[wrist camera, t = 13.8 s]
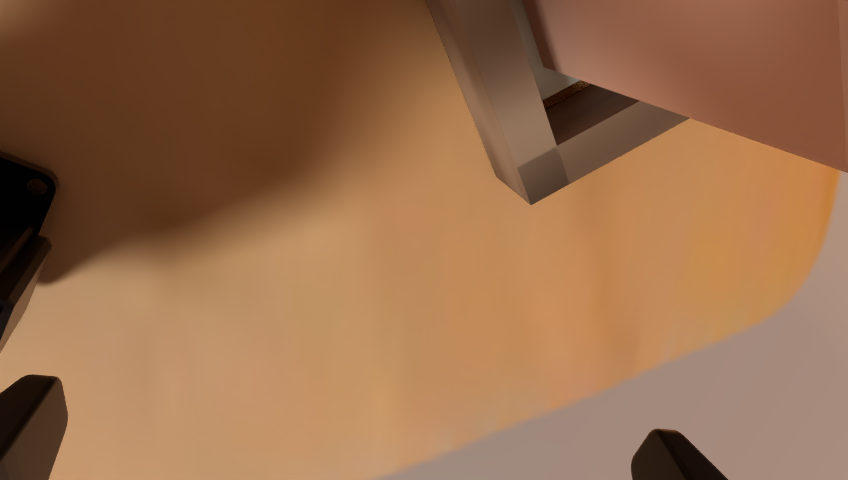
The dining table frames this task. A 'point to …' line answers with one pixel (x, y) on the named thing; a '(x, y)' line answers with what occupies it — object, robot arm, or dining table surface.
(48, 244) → the robot arm
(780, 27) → the terracotta block
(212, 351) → the dining table surface
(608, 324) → the dining table surface
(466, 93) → the corner bracket
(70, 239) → the dining table surface
